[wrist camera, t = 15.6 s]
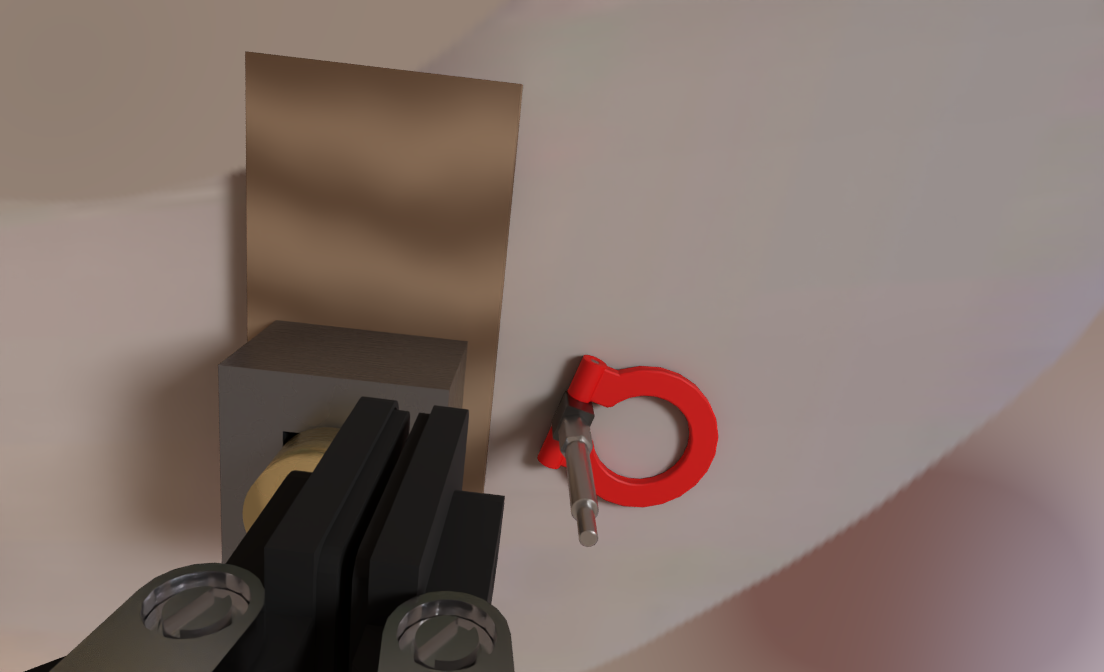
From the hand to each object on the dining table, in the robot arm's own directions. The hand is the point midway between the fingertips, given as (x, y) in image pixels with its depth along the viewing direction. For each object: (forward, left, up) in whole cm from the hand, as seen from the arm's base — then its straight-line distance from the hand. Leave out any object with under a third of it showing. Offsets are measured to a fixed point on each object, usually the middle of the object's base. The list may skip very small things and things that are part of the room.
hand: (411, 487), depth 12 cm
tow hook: (+11, +8, -29) cm, 32 cm away
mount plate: (+6, -7, -29) cm, 30 cm away
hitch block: (+12, -7, -27) cm, 30 cm away
